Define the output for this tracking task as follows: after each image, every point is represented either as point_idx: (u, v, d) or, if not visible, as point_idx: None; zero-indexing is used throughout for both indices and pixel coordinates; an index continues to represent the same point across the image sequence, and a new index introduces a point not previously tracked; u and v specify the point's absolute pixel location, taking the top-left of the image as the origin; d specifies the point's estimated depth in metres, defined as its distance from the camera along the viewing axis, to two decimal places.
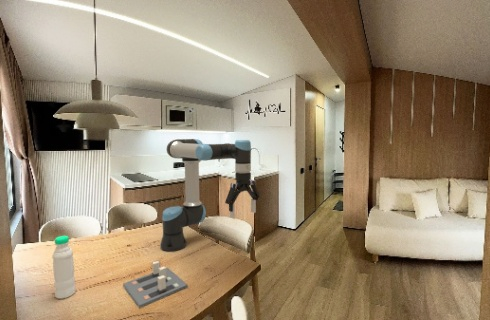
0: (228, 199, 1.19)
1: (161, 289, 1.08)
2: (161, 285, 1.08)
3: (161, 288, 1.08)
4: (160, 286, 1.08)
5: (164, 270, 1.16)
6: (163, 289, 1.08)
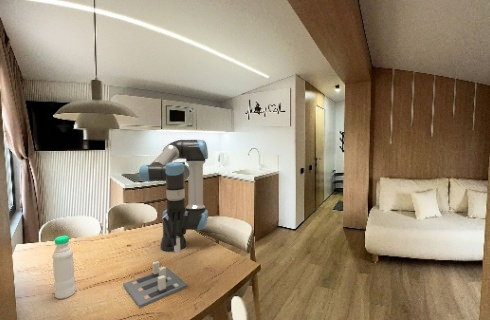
0: (168, 234, 1.09)
1: (161, 289, 1.08)
2: (161, 285, 1.08)
3: (161, 288, 1.08)
4: (160, 286, 1.08)
5: (164, 270, 1.16)
6: (163, 289, 1.08)
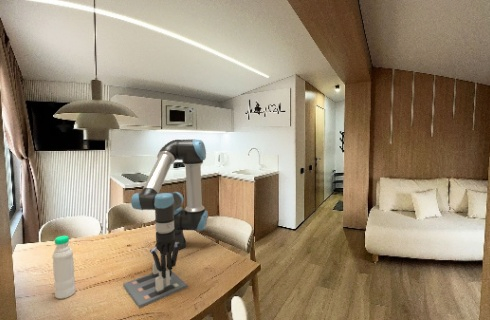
0: (157, 267, 1.07)
1: (159, 290, 1.07)
2: (159, 286, 1.07)
3: (159, 289, 1.07)
4: (158, 287, 1.07)
5: None
6: (161, 290, 1.08)
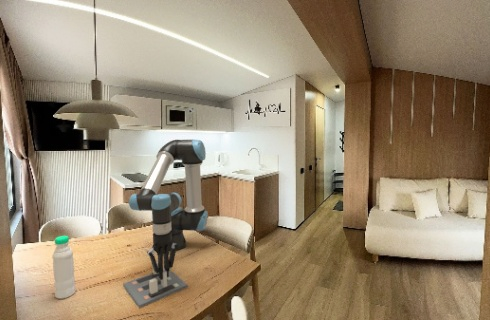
0: (154, 268, 1.06)
1: (153, 292, 1.06)
2: (153, 289, 1.06)
3: (153, 291, 1.06)
4: (152, 289, 1.05)
5: None
6: (155, 292, 1.06)
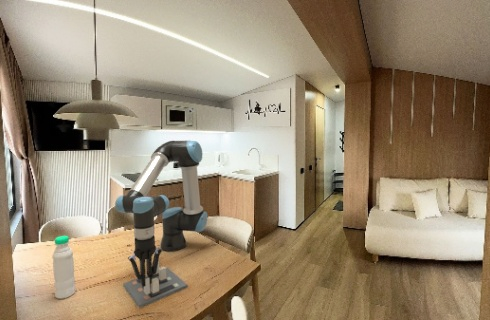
0: (136, 275, 1.01)
1: (154, 292, 1.06)
2: (154, 288, 1.06)
3: (154, 291, 1.06)
4: (153, 289, 1.06)
5: (164, 270, 1.16)
6: (156, 292, 1.06)
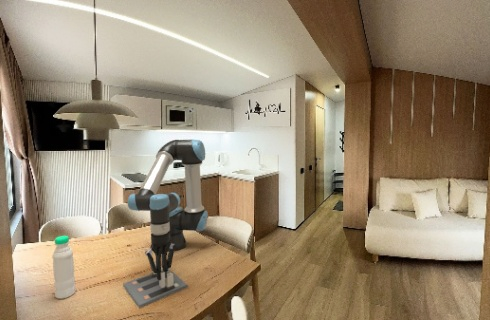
0: (152, 269, 1.05)
1: (169, 286, 1.10)
2: (169, 282, 1.10)
3: (169, 285, 1.10)
4: (168, 283, 1.10)
5: None
6: (171, 286, 1.11)
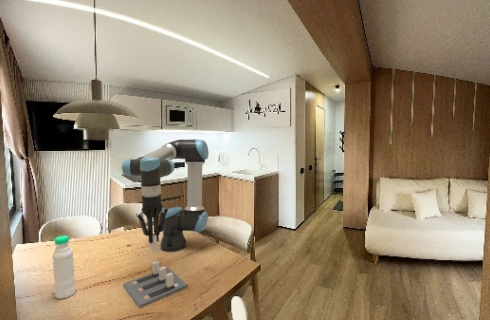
0: (144, 231, 1.05)
1: (169, 286, 1.10)
2: (169, 282, 1.10)
3: (169, 285, 1.10)
4: (168, 283, 1.10)
5: (164, 270, 1.16)
6: (171, 286, 1.11)
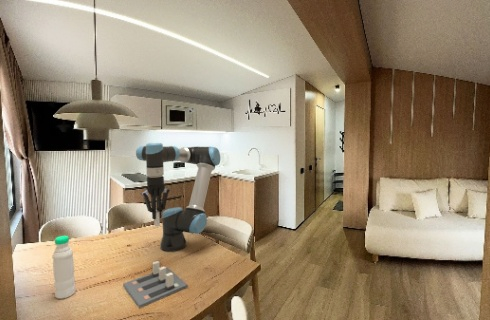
0: (148, 208, 1.19)
1: (169, 286, 1.10)
2: (169, 282, 1.10)
3: (169, 285, 1.10)
4: (168, 283, 1.10)
5: (164, 270, 1.16)
6: (171, 286, 1.11)
